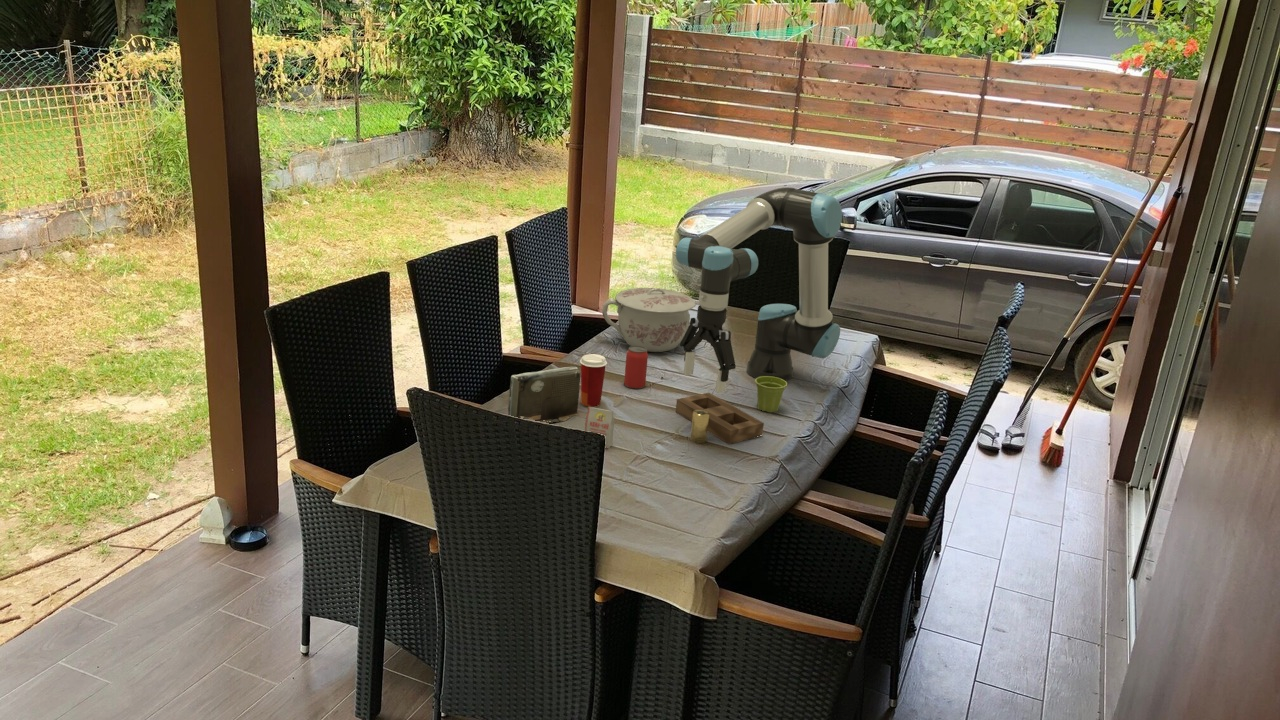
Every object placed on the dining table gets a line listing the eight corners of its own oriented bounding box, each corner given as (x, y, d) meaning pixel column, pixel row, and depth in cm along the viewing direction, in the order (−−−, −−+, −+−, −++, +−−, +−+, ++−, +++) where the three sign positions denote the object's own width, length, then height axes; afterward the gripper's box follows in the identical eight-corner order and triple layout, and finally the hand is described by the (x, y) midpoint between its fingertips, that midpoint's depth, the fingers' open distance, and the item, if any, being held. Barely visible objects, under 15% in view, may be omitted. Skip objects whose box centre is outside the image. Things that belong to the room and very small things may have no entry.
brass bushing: (699, 435, 267) (702, 408, 264) (709, 441, 263) (712, 414, 261) (686, 438, 264) (689, 411, 262) (696, 444, 261) (700, 417, 258)
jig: (707, 405, 288) (708, 392, 286) (762, 436, 270) (763, 422, 268) (675, 411, 281) (676, 399, 279) (729, 444, 263) (730, 430, 261)
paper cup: (607, 401, 284) (611, 356, 279) (598, 410, 277) (601, 364, 273) (583, 396, 286) (585, 351, 282) (572, 404, 280) (575, 359, 275)
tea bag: (588, 438, 259) (590, 404, 256) (612, 443, 257) (615, 408, 254) (583, 444, 256) (586, 409, 252) (608, 448, 254) (610, 414, 251)
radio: (573, 406, 279) (576, 358, 274) (589, 417, 272) (593, 368, 267) (501, 420, 266) (502, 369, 261) (516, 432, 259) (518, 380, 254)
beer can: (642, 390, 294) (646, 353, 290) (621, 387, 295) (624, 350, 291) (647, 383, 300) (650, 346, 296) (626, 380, 301) (629, 343, 297)
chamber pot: (705, 345, 338) (711, 288, 331) (664, 366, 316) (670, 305, 309) (638, 327, 351) (642, 272, 344) (594, 345, 329) (598, 286, 322)
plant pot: (763, 416, 283) (767, 389, 280) (745, 404, 290) (749, 377, 287) (789, 413, 287) (793, 385, 284) (771, 401, 295) (775, 374, 292)
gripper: (672, 295, 258) (664, 369, 265) (732, 322, 239) (723, 401, 247) (694, 292, 262) (686, 365, 270) (755, 319, 244) (745, 397, 251)
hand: (704, 383), depth 258 cm, fingers open, 13 cm apart
